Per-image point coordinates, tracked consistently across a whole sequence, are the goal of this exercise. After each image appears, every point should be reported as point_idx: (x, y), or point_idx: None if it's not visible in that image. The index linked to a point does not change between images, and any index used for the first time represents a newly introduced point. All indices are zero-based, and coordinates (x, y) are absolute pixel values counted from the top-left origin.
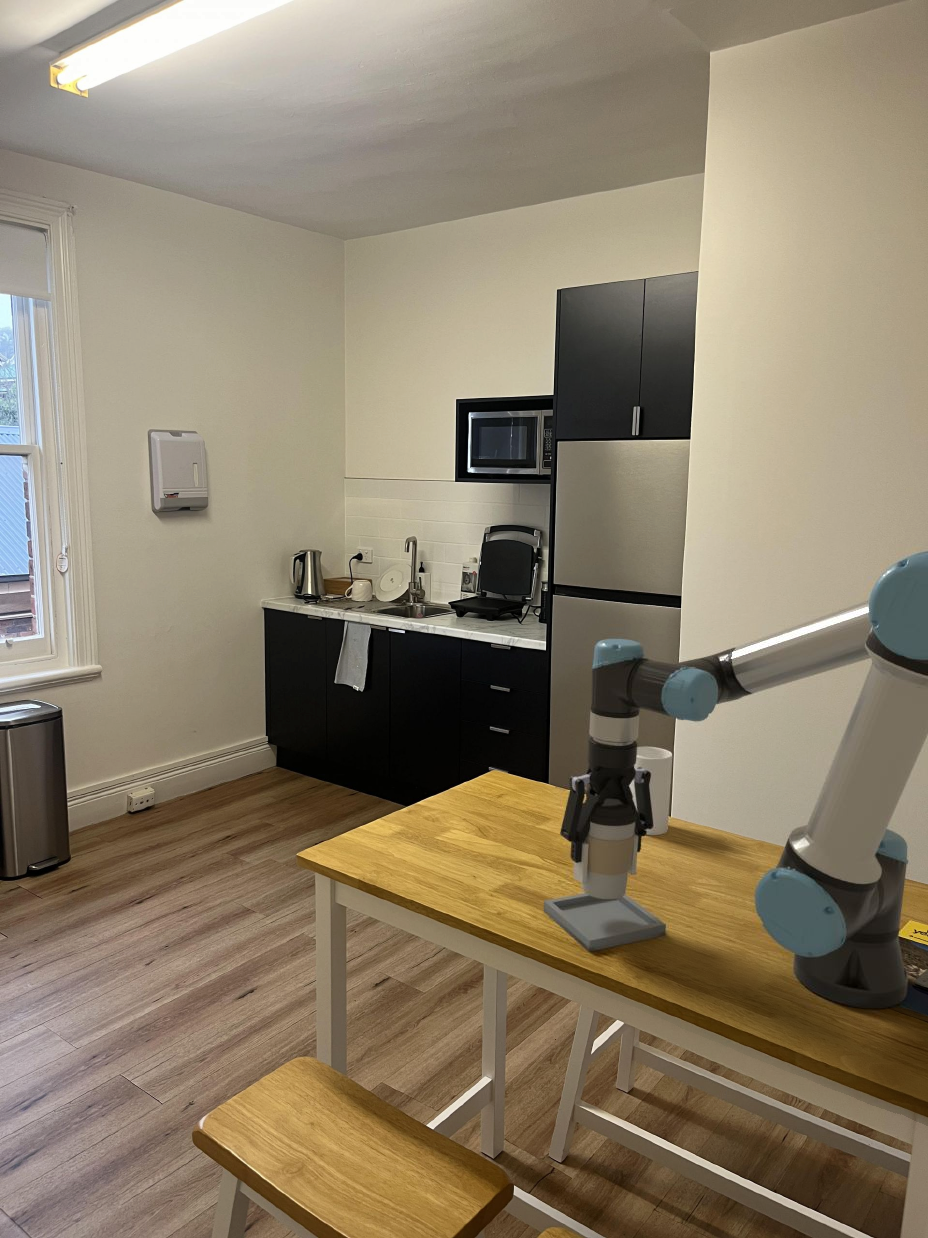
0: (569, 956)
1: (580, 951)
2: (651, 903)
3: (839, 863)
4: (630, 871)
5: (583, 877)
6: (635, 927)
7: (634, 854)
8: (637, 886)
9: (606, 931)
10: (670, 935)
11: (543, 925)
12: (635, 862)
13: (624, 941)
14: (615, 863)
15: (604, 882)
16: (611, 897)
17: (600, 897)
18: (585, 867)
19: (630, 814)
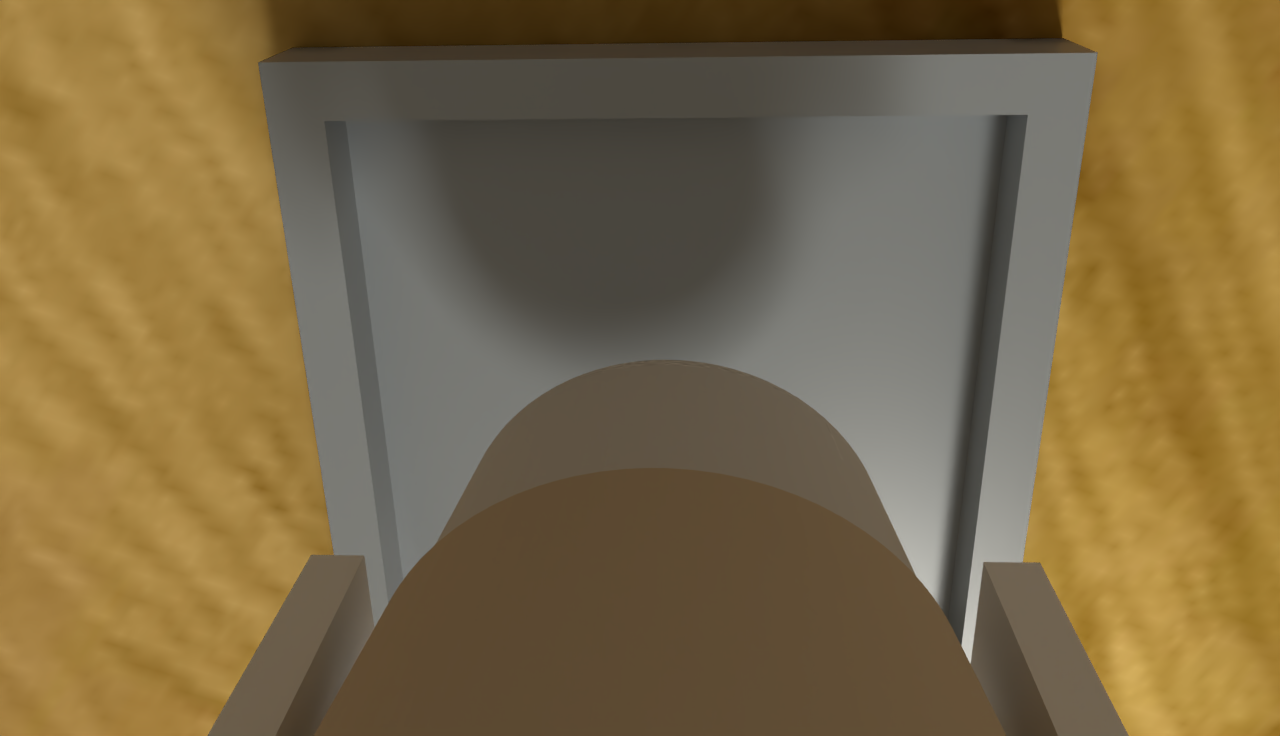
0: (1254, 38)
1: (1116, 77)
2: (158, 508)
3: None
4: (358, 601)
5: (1051, 612)
6: (558, 115)
7: (255, 730)
8: (146, 727)
9: (764, 232)
10: (249, 33)
11: (1109, 511)
12: (272, 651)
13: (709, 45)
14: (739, 564)
15: (820, 479)
16: (718, 373)
17: (819, 418)
18: (1073, 696)
19: None
